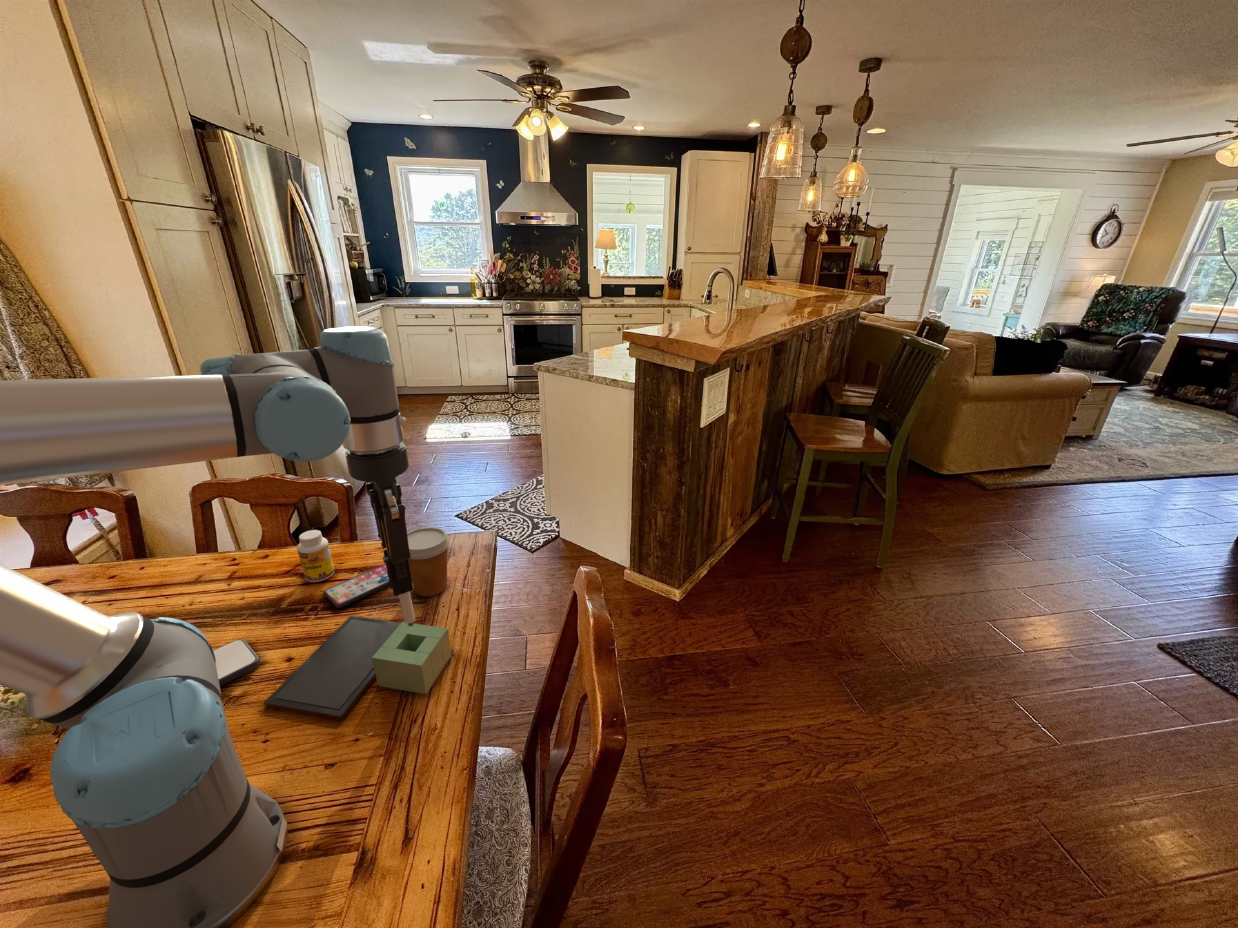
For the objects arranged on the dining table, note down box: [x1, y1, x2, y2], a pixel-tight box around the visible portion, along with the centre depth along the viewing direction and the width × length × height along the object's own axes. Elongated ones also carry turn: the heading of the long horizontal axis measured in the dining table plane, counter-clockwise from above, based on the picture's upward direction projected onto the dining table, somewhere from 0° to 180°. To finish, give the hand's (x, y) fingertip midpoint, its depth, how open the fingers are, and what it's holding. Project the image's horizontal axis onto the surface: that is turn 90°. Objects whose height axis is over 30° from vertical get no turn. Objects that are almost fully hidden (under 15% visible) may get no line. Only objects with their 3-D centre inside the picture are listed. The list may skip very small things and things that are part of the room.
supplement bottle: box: [296, 529, 335, 583], centre depth 103 cm, size 6×6×10 cm
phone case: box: [213, 638, 261, 688], centre depth 79 cm, size 9×2×16 cm
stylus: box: [398, 591, 416, 627], centre depth 76 cm, size 2×2×15 cm
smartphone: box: [323, 563, 390, 609], centre depth 102 cm, size 8×1×15 cm
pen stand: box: [372, 621, 452, 695], centre depth 81 cm, size 8×8×6 cm
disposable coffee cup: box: [407, 526, 450, 597], centre depth 100 cm, size 10×10×12 cm
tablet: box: [263, 615, 402, 722], centre depth 83 cm, size 20×13×1 cm, turn 170°
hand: (401, 587), depth 76 cm, fingers closed on stylus, 1 cm apart
